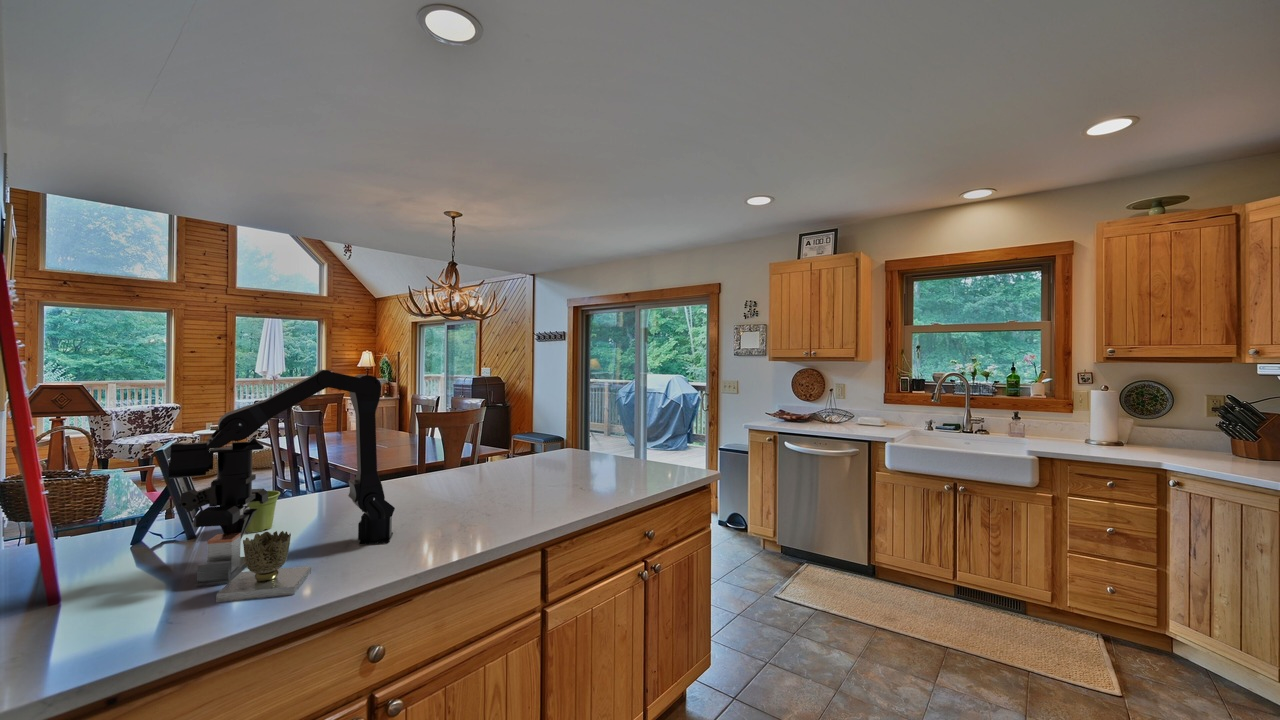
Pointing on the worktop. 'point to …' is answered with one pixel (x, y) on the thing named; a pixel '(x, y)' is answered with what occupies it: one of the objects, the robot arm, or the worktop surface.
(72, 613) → the worktop surface
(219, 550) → the small box
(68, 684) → the worktop surface
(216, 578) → the press rail
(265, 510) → the plant pot
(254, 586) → the flat plate
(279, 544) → the cup
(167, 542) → the worktop surface
